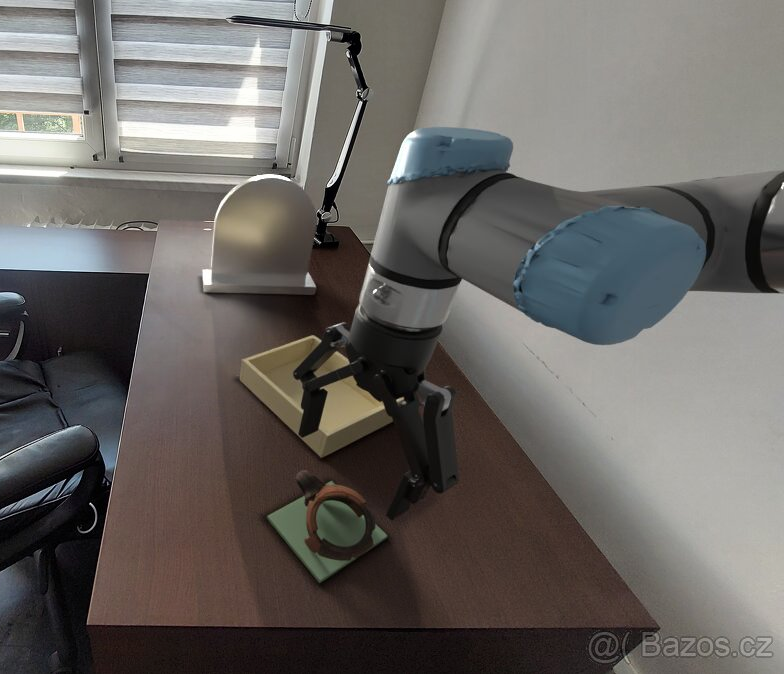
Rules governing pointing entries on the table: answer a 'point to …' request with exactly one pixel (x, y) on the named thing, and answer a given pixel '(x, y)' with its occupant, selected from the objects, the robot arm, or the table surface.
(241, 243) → the award
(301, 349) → the cream yellow tray
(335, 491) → the pottery mug
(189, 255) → the table surface
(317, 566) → the mat
